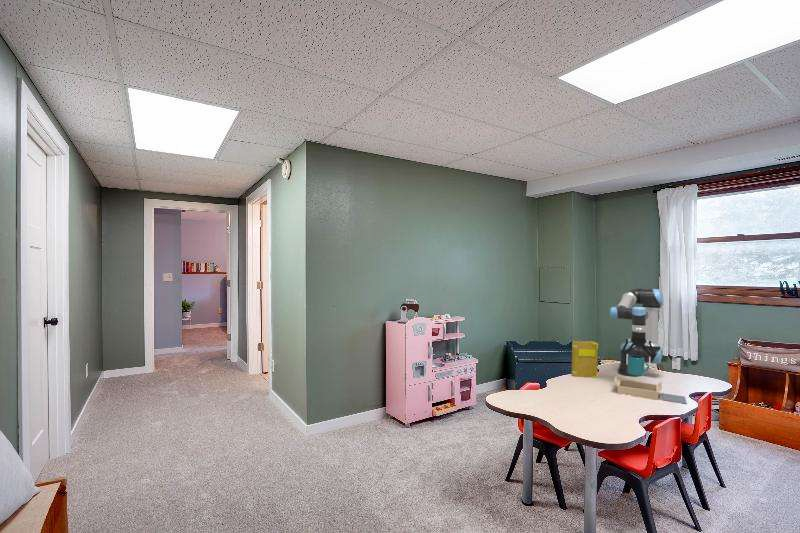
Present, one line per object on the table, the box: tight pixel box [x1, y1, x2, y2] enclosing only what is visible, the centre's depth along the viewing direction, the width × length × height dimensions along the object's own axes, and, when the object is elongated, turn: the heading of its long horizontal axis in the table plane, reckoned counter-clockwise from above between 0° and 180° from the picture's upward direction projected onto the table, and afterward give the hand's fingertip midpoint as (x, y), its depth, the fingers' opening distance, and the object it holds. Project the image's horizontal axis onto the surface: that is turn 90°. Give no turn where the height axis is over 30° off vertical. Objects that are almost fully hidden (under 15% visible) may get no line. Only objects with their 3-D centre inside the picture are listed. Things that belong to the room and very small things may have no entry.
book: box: [571, 340, 599, 379], centre depth 294 cm, size 17×7×25 cm, turn 84°
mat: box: [661, 392, 688, 405], centre depth 245 cm, size 15×12×1 cm
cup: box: [628, 355, 650, 377], centre depth 255 cm, size 9×12×11 cm
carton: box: [613, 374, 664, 401], centre depth 255 cm, size 18×26×8 cm
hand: (638, 365), depth 255 cm, fingers closed on cup, 12 cm apart
